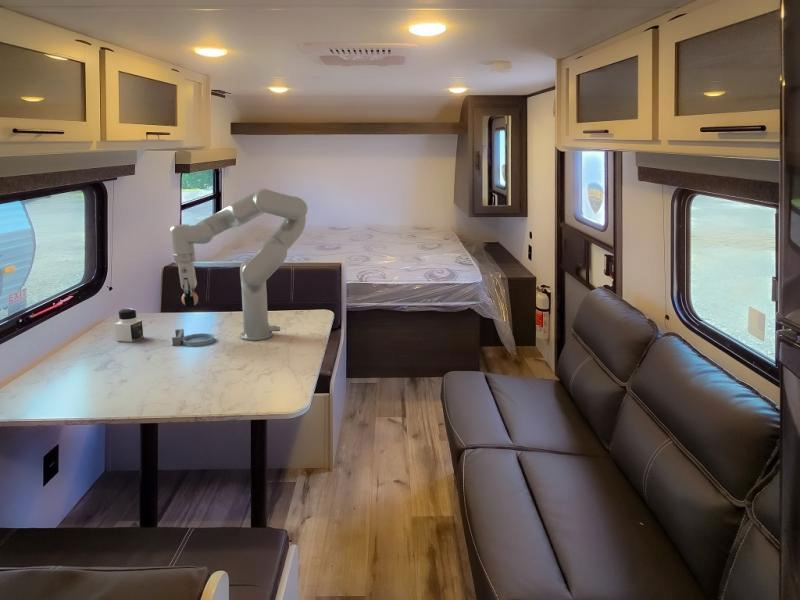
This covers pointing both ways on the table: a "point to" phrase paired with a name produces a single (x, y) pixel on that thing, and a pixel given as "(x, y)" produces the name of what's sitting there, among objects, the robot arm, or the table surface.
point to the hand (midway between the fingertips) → (190, 304)
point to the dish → (197, 339)
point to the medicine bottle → (128, 326)
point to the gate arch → (178, 337)
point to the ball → (193, 298)
